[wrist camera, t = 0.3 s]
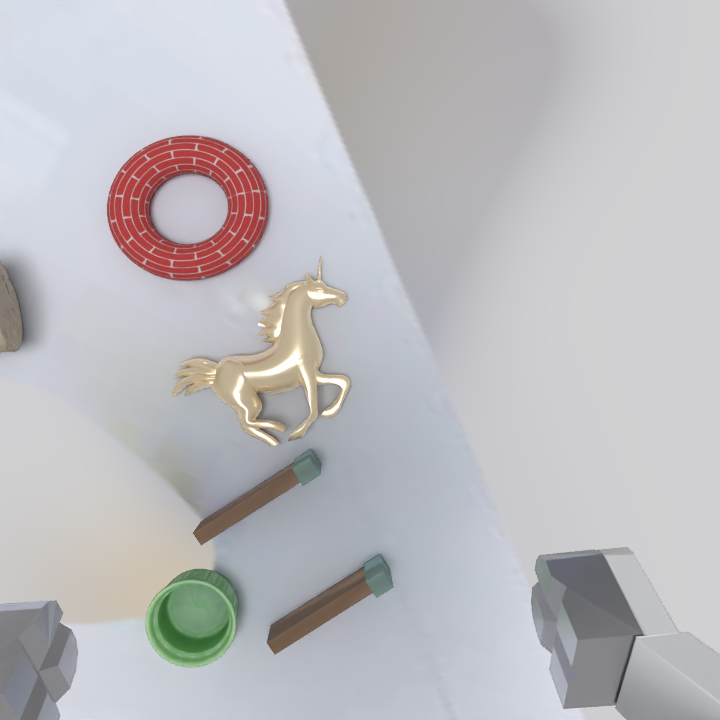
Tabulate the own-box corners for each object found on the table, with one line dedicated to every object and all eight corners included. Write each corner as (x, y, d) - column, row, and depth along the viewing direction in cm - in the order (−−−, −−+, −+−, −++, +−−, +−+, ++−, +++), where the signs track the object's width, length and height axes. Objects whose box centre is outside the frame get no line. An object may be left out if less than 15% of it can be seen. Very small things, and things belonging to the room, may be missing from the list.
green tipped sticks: (389, 569, 65) (393, 587, 61) (279, 638, 65) (275, 662, 61) (311, 448, 64) (309, 457, 60) (199, 519, 64) (189, 534, 60)
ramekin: (149, 633, 65) (135, 655, 61) (170, 553, 64) (157, 570, 60) (231, 653, 65) (222, 677, 61) (252, 574, 65) (245, 592, 60)
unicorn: (189, 475, 60) (138, 309, 60) (200, 468, 64) (152, 312, 64) (383, 414, 60) (331, 248, 60) (382, 411, 64) (333, 255, 64)
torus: (261, 133, 62) (256, 122, 59) (278, 272, 63) (275, 269, 60) (105, 150, 62) (90, 140, 58) (124, 289, 63) (111, 287, 59)
